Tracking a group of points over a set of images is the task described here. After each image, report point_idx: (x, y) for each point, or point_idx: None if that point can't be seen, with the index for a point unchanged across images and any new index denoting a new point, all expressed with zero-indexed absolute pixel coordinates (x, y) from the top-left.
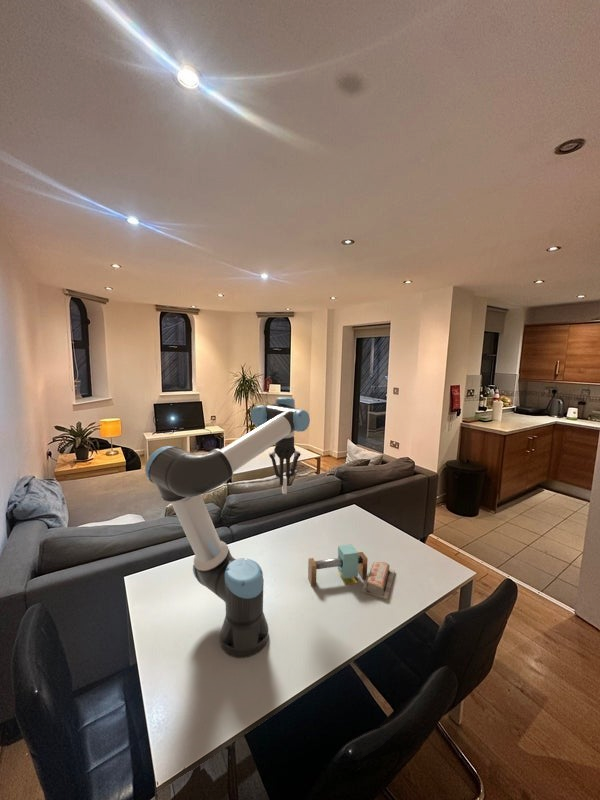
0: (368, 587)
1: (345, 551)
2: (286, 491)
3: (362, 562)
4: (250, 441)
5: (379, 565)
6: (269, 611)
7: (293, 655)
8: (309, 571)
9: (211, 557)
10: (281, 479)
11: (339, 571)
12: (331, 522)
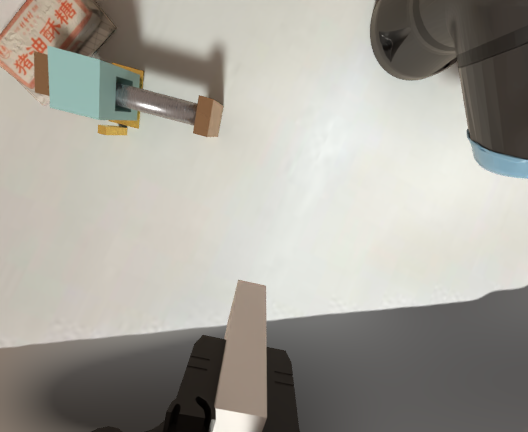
0: (92, 4)
1: (87, 75)
2: (238, 290)
3: None
4: None
5: (18, 59)
6: (342, 73)
7: None
8: (215, 123)
9: None
10: (281, 414)
11: None
12: (70, 308)
